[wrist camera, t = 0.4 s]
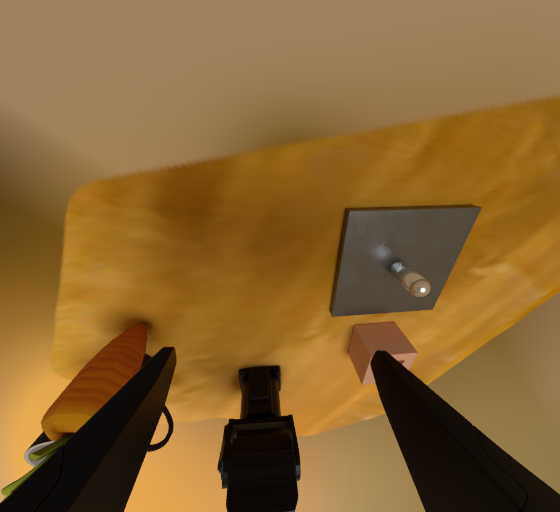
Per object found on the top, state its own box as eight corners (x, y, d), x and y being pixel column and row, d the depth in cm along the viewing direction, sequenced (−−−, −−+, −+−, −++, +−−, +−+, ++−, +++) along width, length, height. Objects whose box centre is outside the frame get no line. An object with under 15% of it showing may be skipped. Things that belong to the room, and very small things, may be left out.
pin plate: (427, 304, 29) (461, 336, 24) (329, 311, 27) (344, 346, 23) (472, 204, 22) (533, 222, 17) (345, 208, 21) (372, 228, 16)
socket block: (384, 348, 33) (403, 380, 28) (347, 351, 32) (362, 384, 28) (394, 321, 30) (417, 352, 25) (354, 324, 29) (371, 356, 25)
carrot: (156, 342, 27) (62, 525, 14) (115, 329, 26) (-34, 524, 12) (170, 318, 25) (76, 502, 12) (127, 303, 24) (-33, 497, 11)
